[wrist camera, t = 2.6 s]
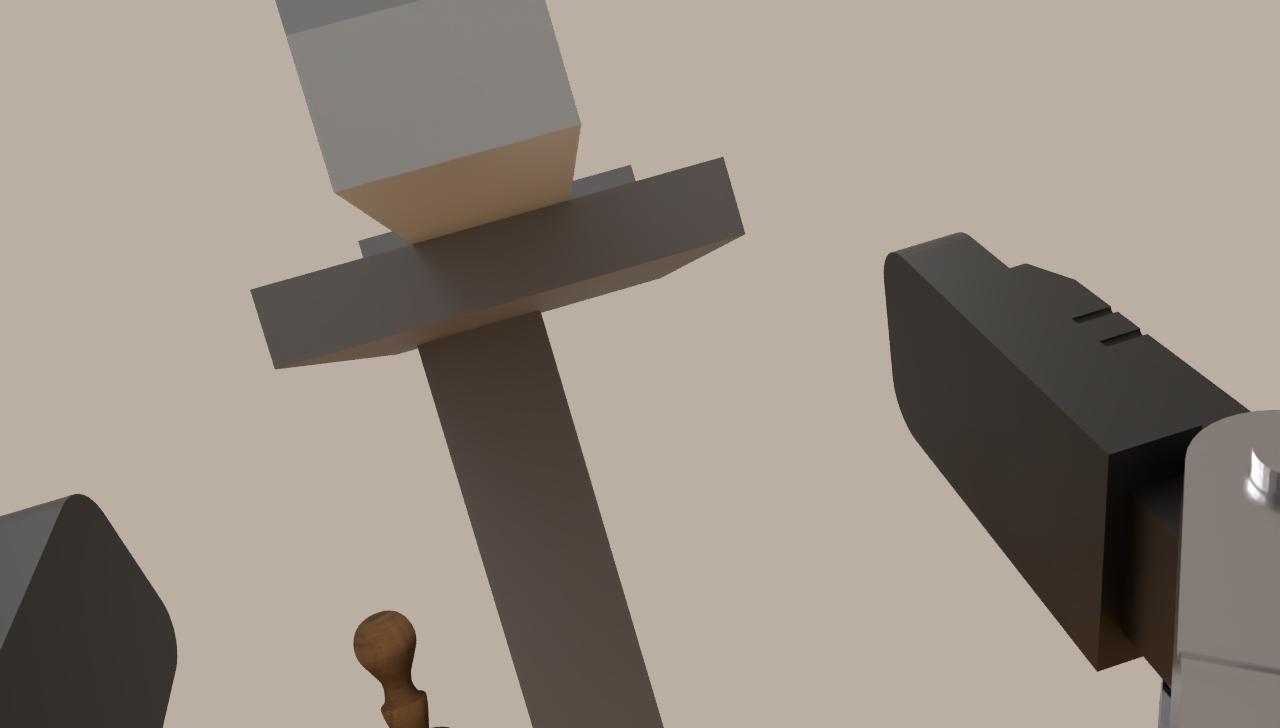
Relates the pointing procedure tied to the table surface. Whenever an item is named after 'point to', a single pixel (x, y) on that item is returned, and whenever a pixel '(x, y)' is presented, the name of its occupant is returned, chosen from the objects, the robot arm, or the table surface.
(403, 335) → the grey gallows post
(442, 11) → the grey rectangular box
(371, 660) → the mortar and pestle
